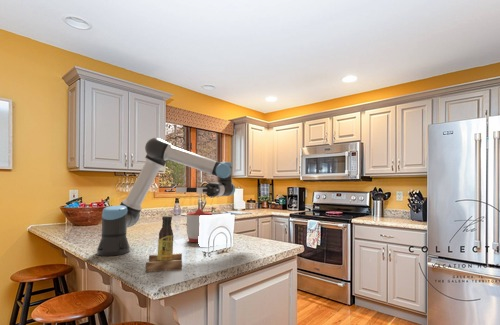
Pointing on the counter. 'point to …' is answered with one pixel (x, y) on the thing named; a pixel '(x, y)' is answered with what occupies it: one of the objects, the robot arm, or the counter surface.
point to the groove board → (164, 263)
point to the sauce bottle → (165, 240)
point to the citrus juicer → (194, 224)
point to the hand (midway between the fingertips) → (186, 190)
